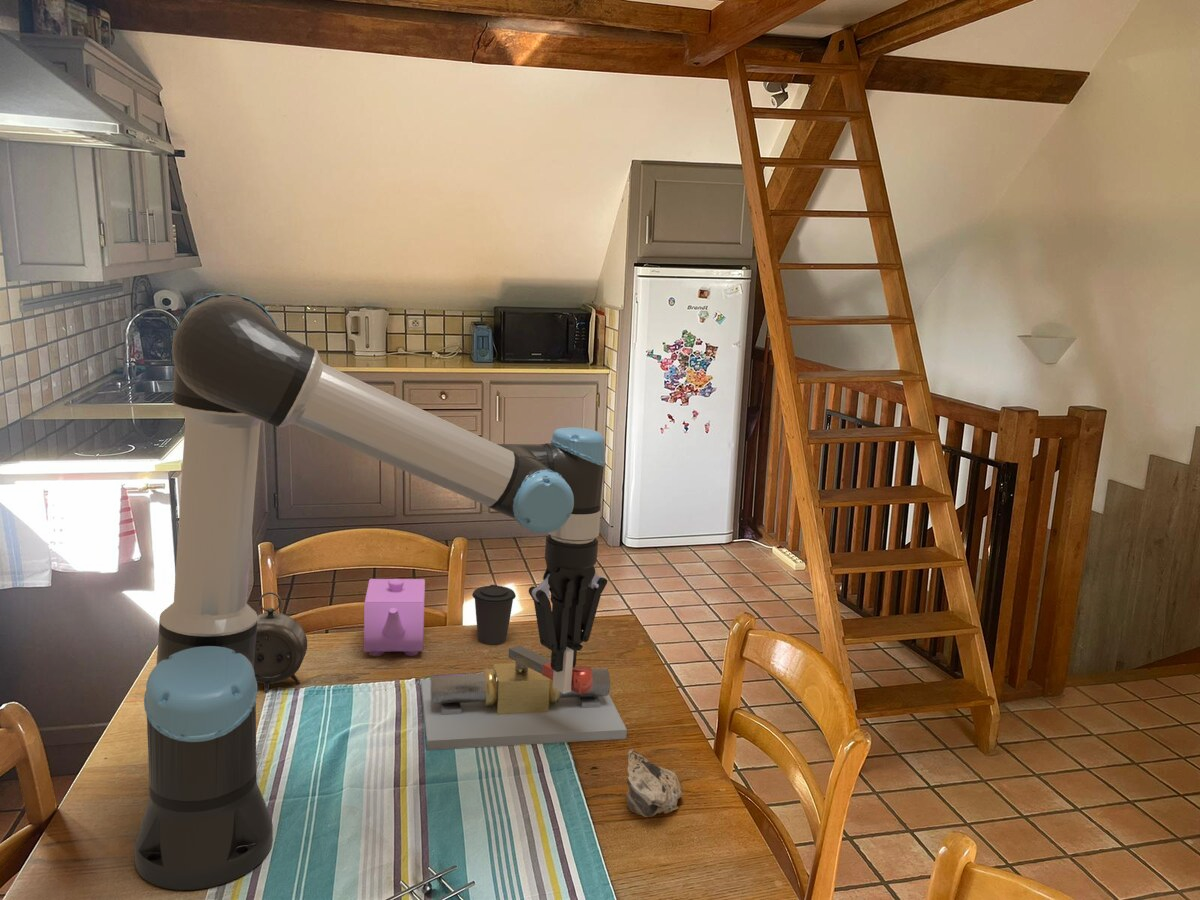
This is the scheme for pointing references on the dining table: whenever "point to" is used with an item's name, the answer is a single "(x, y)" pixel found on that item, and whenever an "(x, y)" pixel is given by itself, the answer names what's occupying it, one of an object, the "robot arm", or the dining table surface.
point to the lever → (543, 665)
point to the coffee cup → (493, 613)
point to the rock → (651, 787)
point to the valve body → (509, 690)
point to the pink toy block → (394, 616)
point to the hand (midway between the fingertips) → (561, 689)
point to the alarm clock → (278, 647)
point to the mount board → (519, 724)
